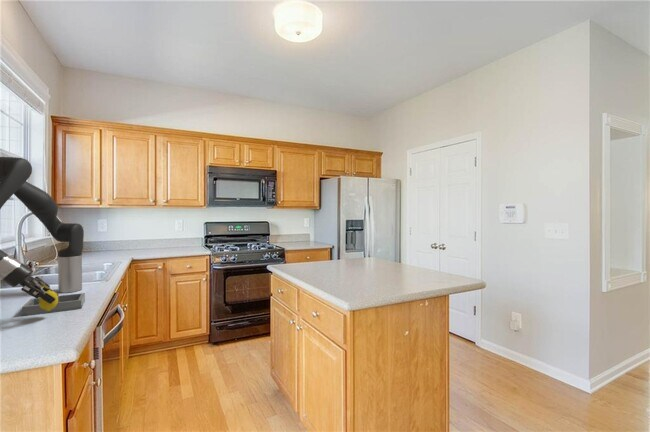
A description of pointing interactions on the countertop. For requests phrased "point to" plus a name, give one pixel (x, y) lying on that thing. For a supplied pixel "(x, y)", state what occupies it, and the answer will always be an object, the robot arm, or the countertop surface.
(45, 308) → the lemon
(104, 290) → the countertop surface
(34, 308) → the tray
